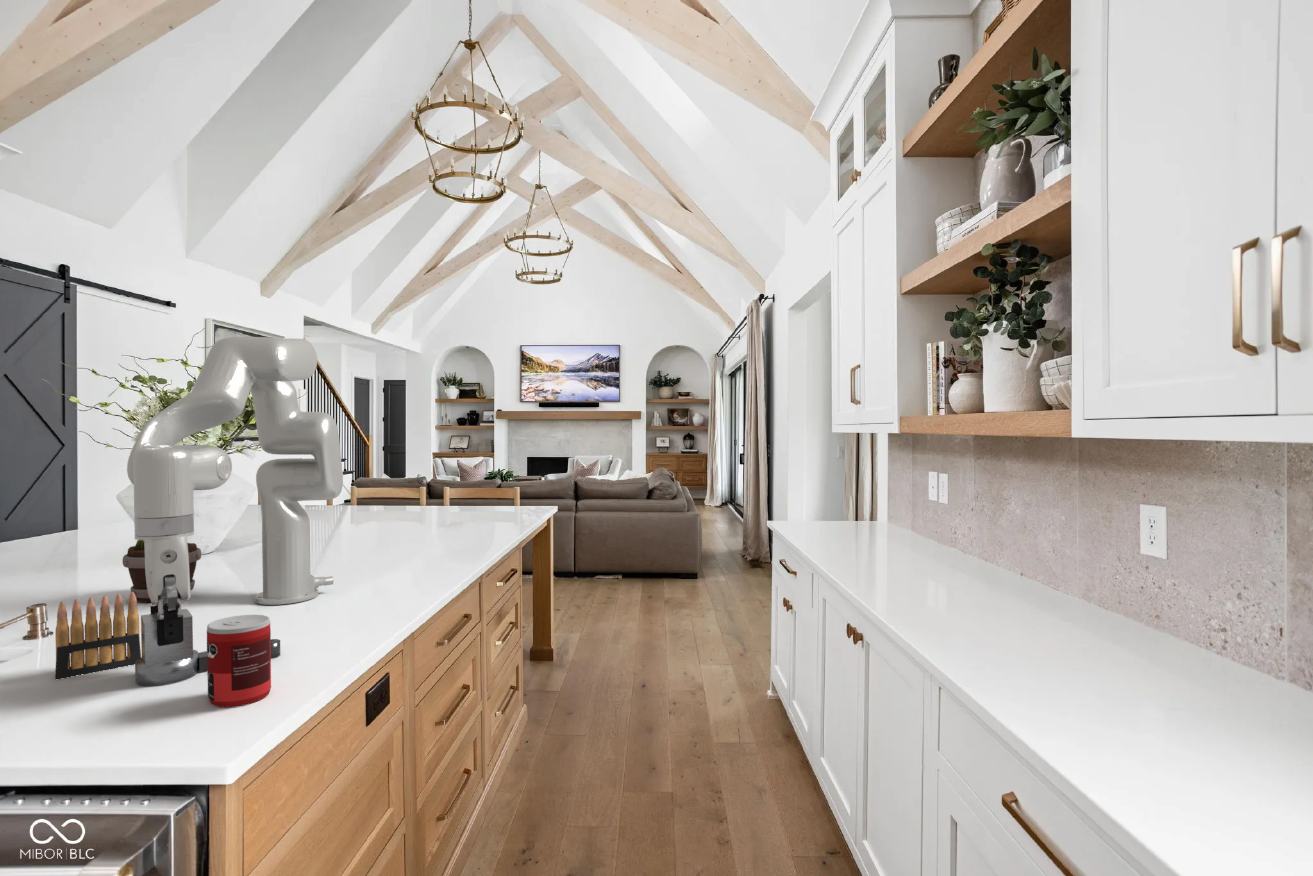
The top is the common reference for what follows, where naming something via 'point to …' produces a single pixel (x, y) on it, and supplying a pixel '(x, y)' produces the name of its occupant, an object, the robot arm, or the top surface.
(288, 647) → the top surface
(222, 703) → the canned food
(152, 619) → the socket
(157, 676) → the ratchet
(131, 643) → the ammunition clip
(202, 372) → the robot arm
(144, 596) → the flowerpot
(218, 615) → the top surface
